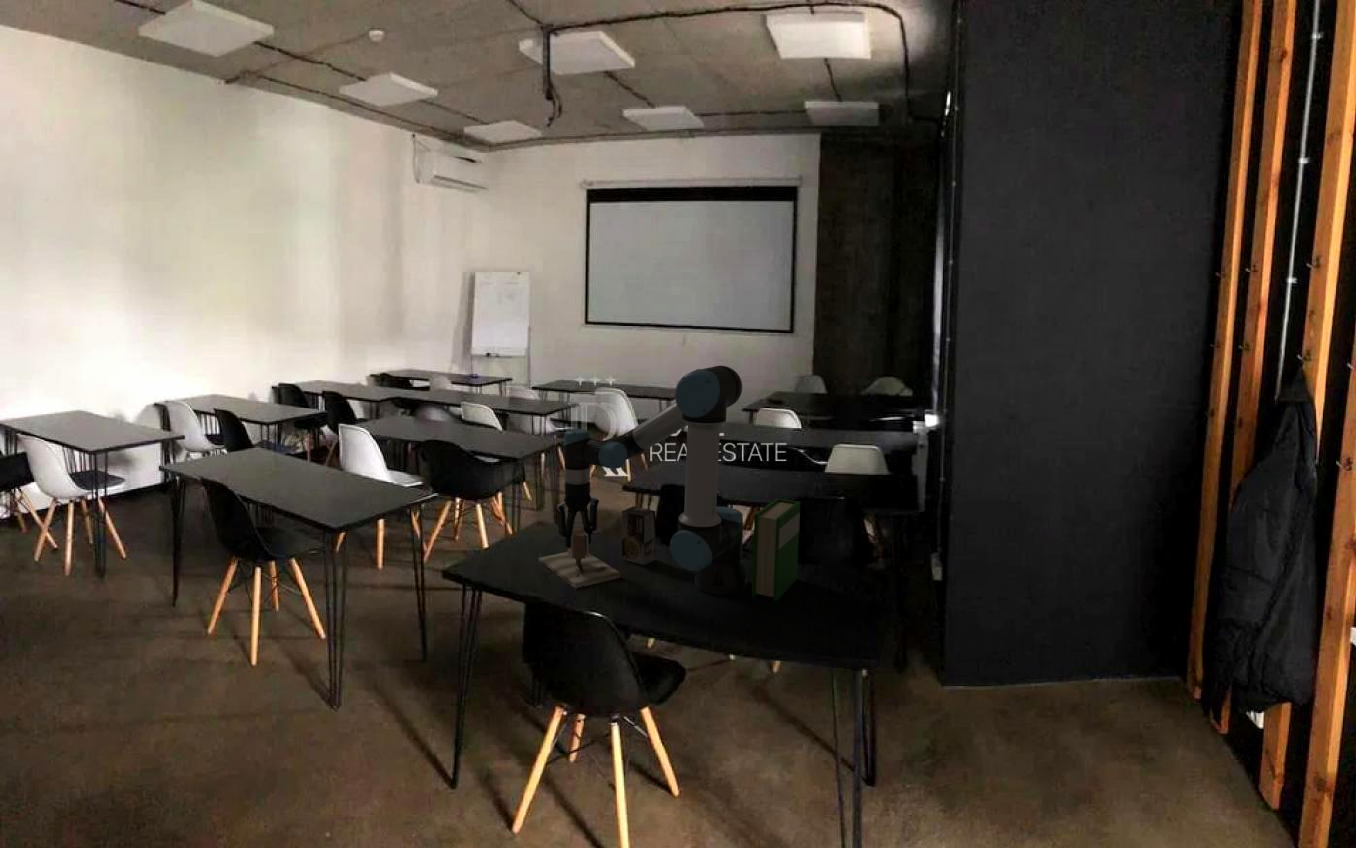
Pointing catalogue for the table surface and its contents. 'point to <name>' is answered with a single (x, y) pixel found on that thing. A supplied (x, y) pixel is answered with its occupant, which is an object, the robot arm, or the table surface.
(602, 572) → the striped wooden board
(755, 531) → the hardback book
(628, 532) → the coffee box
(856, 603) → the table surface
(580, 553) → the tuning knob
